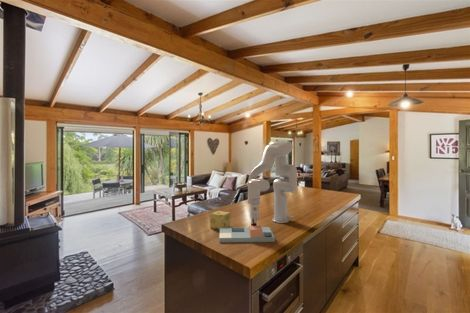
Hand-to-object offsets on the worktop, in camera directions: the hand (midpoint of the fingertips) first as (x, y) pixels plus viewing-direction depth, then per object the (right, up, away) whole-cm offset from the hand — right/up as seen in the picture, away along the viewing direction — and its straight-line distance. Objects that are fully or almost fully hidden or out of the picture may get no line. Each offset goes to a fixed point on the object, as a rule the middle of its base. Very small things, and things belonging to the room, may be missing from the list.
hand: (253, 230), depth 143 cm
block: (+1, -1, -6) cm, 6 cm away
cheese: (-22, -3, +16) cm, 27 cm away
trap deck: (-5, -3, -1) cm, 6 cm away
